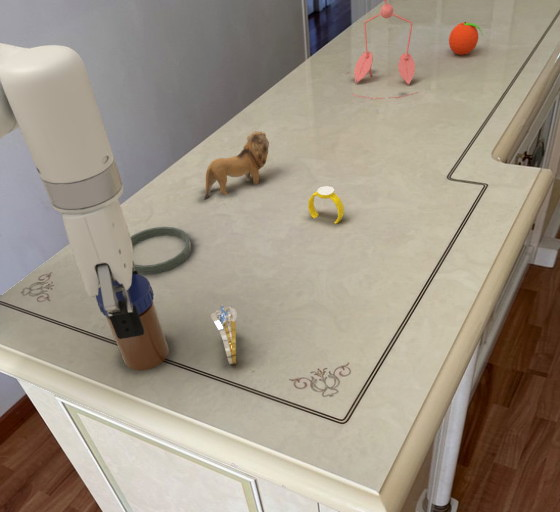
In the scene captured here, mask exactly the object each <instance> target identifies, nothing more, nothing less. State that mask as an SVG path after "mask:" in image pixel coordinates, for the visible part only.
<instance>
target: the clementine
mask: <svg viewBox="0 0 560 512" xmlns="http://www.w3.org/2000/svg"><path fill="white" fill-rule="evenodd" d="M478 30H479V31H478ZM479 32H480V33H481V36H483V31H482V30H481V28H480V26H478V25H477V24H475V23H472V22H468V21H467V22H466V21H464V22H460V23H458V24H457V25H455V26H454V27H453V28H452V30H451V31H450V34H449V36H448V45H449V48H450V50H451V52H453V53H454V54H456V55H459V56H464V55H467V54H470V53H471V52H473V50H474V49H475V48H476V46H477V45H478V42H479Z"/></svg>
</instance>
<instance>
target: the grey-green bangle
mask: <svg viewBox="0 0 560 512" xmlns="http://www.w3.org/2000/svg"><path fill="white" fill-rule="evenodd" d="M164 236H169V237H176V238H179V239H181V240H182V241H184V242H185V246H184V248H183V249H182V250H181V251H180V252H179V253H178V254H177V255H175V256H174V257H172V258H170V259H168V260H166V261H162V262H158V263H155V264H147V265H142V264H134V265H135V270H132V271H137V272H138V275H143V276H144V275H146V276H147V275H154V274H155V275H156V274H160V273H164V272H167V271H170V270H172V269H174V268H177V267H179V266H180V265H181V264H183V262H185V261H186V260H187V259H188V257H189V256H190V255H191V252H192V243H191V240H190V237H189V234H188V233H187V232H185V231H184V230H182V229H180V228H177V227H175V226H174V227H172V226H158V227H152V228H147V229H144V230H141V231H139V232H136V233H134V234H133V235H130V237H131V241H132V246H133V247H134V246H135V245H136V244H138V243H140V242H142V241H144V240H147V239H150V238H154V237H164Z"/></svg>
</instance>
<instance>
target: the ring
mask: <svg viewBox="0 0 560 512" xmlns="http://www.w3.org/2000/svg"><path fill="white" fill-rule="evenodd" d="M210 317H211V320H212V321H213V323H214V324H215V326H216V328H217V329H218V331H219V334H220V337H221V338H222V339H221V340H222V342H223V347H224V350H225V354H226V358H227V360H228V364H229V365H234V364H235V365H236V364H237V349H236V348H237V341H236V340H237V339H236V338H237V329H236V328H237V324H236V321H237V317H238V312H237V310H236V309H235V308H234V307H233V306H227V307H225V306H224V304H223V303H222V304H220V309H216V310H215V311H214V312H211V314H210Z"/></svg>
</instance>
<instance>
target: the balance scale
mask: <svg viewBox="0 0 560 512" xmlns="http://www.w3.org/2000/svg"><path fill="white" fill-rule="evenodd" d="M383 1H384V4H383V5H382V6H381V8H380V13H378V14H376V15H373V16H372V17H370V18H369V19H367V20H365V21H364V23H363V27H364V28H363V29H364V39H365V40H364V42H365V44H364V45H365V52H363V54H362V55H361V56H360V57H359V58H358V59H357V62H356V63H355V67H354V82H355V84H358V83H359V82H361V81H362V80H363V79H364V78H365V77H366V76H367V75H368V74H369V76H370V77H372V76H373V71H372V65H373V60H374V55H373V54H372V51H369V50H368V37H367V23H368V22H370V21H373V20H374V19H376V18H378V17H379V16H380V17H382V18H383V19H385V20H386V19H390V18H391V17H392V16H393V17H396V18H398V19H400V20H402V21H404V22H407V23H409V24H410V26H409V33H408V39H407V44H406V45H407V46H406V51H405V53H403V54H401V56H400V57H399V61H398V65H397V66H398V67H397V68H398V69H397V70H398V72H399V75H400V77H401V79H403V81H404V82H405V83H406V84H407V85H410V84H411V82H412V80H413V78H414V75H415V72H416V64H415V60H414V59H413V57H412V55H411V54H410V53H409V49H410V42H411V35H412V30H413V21H411V20H410V19H409V20H408V19H407V18H404V17H402V16H400V15H397V14H396V13H394V7H393V6H392V4H390V3H388V1H387V0H383ZM349 73H350V71H349V72H346V73H345V75H347V74H349ZM415 94H419V92H418V91H417V92H414V93H411V94H405V95H399V96H391V97H389V99H400V98H403V97H407V96H413V95H415ZM351 95H352V96H355V97H359V98H364V99H365V98H366V99H372V97H370V96H361V95H358V94H353V93H352V94H351ZM379 99H380V100H381V99H384V97H376V100H379Z"/></svg>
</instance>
